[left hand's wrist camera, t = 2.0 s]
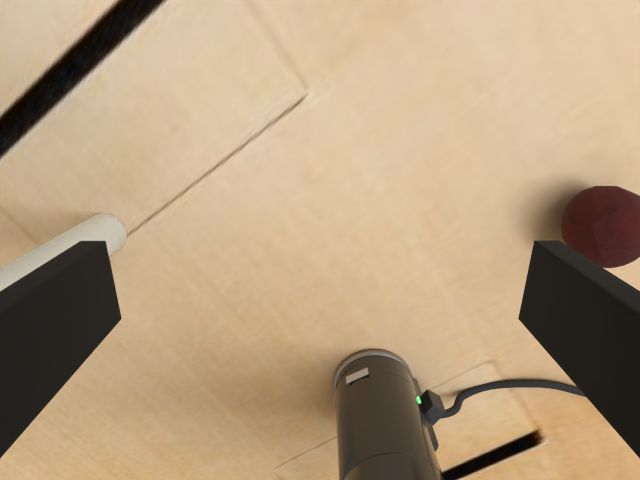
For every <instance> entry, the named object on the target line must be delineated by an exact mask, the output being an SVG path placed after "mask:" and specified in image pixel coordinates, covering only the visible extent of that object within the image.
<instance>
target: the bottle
mask: <svg viewBox="0 0 640 480" xmlns="http://www.w3.org/2000/svg"><path fill="white" fill-rule="evenodd" d="M126 239H127V232H126V229H125V226H124V225H123V223H122V222H121V221H120V220H119V219H118V218H116V217H114V216H112V215H109V214H97V215H95V216H93V217H91V218H89V219H87V220H86V221H84V222H82V223H80V224H78V225H77V226H75V227H73V228H71V229H69V230H68V231H66V232H64V233H62V234H60V235H59V236H57V237H55V238H53V239H51V240H50V241H48V242H46V243H44V244H42V245H41V246H39V247H37V248H35V249H33V250H32V251H30V252H28V253H26V254H24V255H23V256H21V257H19V258H17V259H15V260H14V261H12V262H10V263H8V264H6V265H4V266H3V267H1V268H0V291H1V290H3V289H5V288H6V287H8V286H9V285H11V284H13V283H14V282H16V281H17V280H19V279H21V278H22V277H24V276H25V275H27V274H28V273H30V272H32V271H33V270H35V269H36V268H38V267H40V266H41V265H43V264H44V263H46V262H48V261H49V260H51V259H52V258H54V257H56V256H57V255H59V254H60V253H62V252H64V251H65V250H67V249H68V248H70V247H71V246H73V245H75V244H76V243H78V242H79V241H106V245H107V250H108V255H109V257H110V256H111V255H112V254H114V253H115V252H116V251H117V250H119V249H120V248H121V247H122V246H123V245H124V244H125V242H126Z"/></svg>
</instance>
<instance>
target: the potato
mask: <svg viewBox="0 0 640 480" xmlns="http://www.w3.org/2000/svg"><path fill="white" fill-rule="evenodd" d="M562 235H563V239H564V241H565V243H566V244H567V246H569V247H570V248H572V249H573V250H575V251H576V252H578V253H580V254H581V255H583V256H584V257H586V258H588V259H589V260H591V261H592V262H594V263H596V264H597V265H599V266H600V267H602V268H615V267H619V266H623V265H626V264H628V263H631V262H633V261H635V260H636V259H637V258H639V257H640V196H639V195H637V194H635V193H632V192H630V191H627V190H625V189H622V188H620V187H617V186H595V187H592V188H589V189H586V190H583V191H582V192H580V193H579V194H578V195H576V196H575V197H574V198H573V199H572V200H571V201H570V203H569V205H568V206H567V208H566V211H565V214H564V218H563V221H562Z"/></svg>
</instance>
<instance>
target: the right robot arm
mask: <svg viewBox="0 0 640 480" xmlns="http://www.w3.org/2000/svg"><path fill="white" fill-rule="evenodd" d="M512 387H542V388H552V389H558V390H562V391H566V392H570V393H573V394H577V395H581V396H585V395H584V393H583V392H582V391H581V390H580V389H579V388H578V387H574V386H570V385H567V384H562V383H558V382H552V381H544V380H505V381H496V382H491V383H486V384H482V385H478V386H475V387H472V388H469V389H466V390H465V391H463V392H461V393H459V394H458V395H457V397H456V399H455V402H454V405H453V406H452V407H451V408H449V409H446V410H445V409H444V406H443V403H442V401H441V398H440V396H439V395H437V394H435V393H433V392H432V391H430V390H428V389H427V390H426V391H425V392H424V393H423V394H422V393H421V390H420V387H419V384H418V381H417V380H415V379H413V378H412V375H411V372H410V369H409V367H408V365H407V364H406V363H405V361H403V360H402V359H401V358H400V357H399V356H397V355H395V354H393V353H391V352H388V351H384V350H375V349H374V350H365V351H361V352H358V353H355V354H353V355H351V356H350V357H348V358H347V359H346V360H344V361H343V362H342V363H341V365H340V366H339V367H338V369H337V371H336V373H335V377H334V392H335V400H336V422H337V441H338V460H339V479H340V480H444V479H443V475H442V472H441V469H440V466H439V463H438V460H437V457H436V453H435V451H436V450H437V449H438V441H437V438H436V435H435V432H434V429H433V425H434V424H435V423H436V422H437V421H438V420H439V419H441V418H447V417H450V416H453V415H455V414H456V413H458V412H459V410H460V408H461V405H462V402H463V400H464V399H466V398H468V397H470V396H472V395H474V394H476V393H479V392H483V391H486V390H491V389H498V388H512ZM585 397H586V396H585Z"/></svg>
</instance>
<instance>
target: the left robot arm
mask: <svg viewBox="0 0 640 480" xmlns="http://www.w3.org/2000/svg"><path fill="white" fill-rule="evenodd" d="M120 320H121V314H120V309H119V304H118V299H117V294H116V289H115V284H114V279H113V274H112V269H111V265H110V260H109V255H108V250H107V245H106V241H79V242H78V243H76V244H75V245H73V246H71V247H70V248H68V249H67V250H65V251H64V252H62V253H60V254H59V255H57V256H56V257H54V258H52V259H51V260H49V261H48V262H46V263H44V264H43V265H41V266H40V267H38V268H36V269H35V270H33V271H32V272H30V273H28V274H27V275H25V276H24V277H22V278H21V279H19V280H17V281H16V282H14V283H13V284H11V285H9V286H8V287H6V288H5V289H3V290H1V291H0V458H1V457H2V456H3V454H4V453H5V452H6V451H7V450H8V449H9V448H10V446H11V445H12V444H13V443H14V442H15V441H16V440H17V438H18V437H19V436H20V435H21V434H22V433H23V431H24V430H25V429H26V428H27V427H28V426H29V425H30V423H31V422H32V421H33V420H34V419H35V418H36V416H37V415H38V414H39V413H40V412H41V411H42V410H43V408H44V407H45V406H46V405H47V404H48V403H49V402H50V400H51V399H52V398H53V397H54V396H55V395H56V393H57V392H58V391H59V390H60V389H61V388H62V387H63V385H64V384H65V383H66V382H67V381H68V380H69V379H70V377H71V376H72V375H73V374H74V373H75V372H76V370H77V369H78V368H79V367H80V366H81V365H82V364H83V362H84V361H85V360H86V359H87V358H88V357H89V356H90V354H91V353H92V352H93V351H94V350H95V349H96V347H97V346H98V345H99V344H100V343H101V342H102V341H103V339H104V338H105V337H106V336H107V335H108V334H109V333H110V331H111V330H112V329H113V328H114V327H115V326H116V324H117V323H118V322H119V321H120ZM519 320H520V321H521V322H522V323H523V324H524V326H525V327H526V328H527V329H528V330H529V331H530V333H531V334H532V335H533V336H534V337H535V338H536V339H537V341H538V342H539V343H540V344H541V345H542V346H543V347H544V349H545V350H546V351H547V352H548V353H549V354H550V356H551V357H552V358H553V359H554V360H555V361H556V362H557V364H558V365H559V366H560V367H561V368H562V369H563V370H564V372H565V373H566V374H567V375H568V376H569V377H570V379H571V380H572V381H573V382H574V383H575V384H576V385H577V387H578V388H579V389H580V390H581V391H582V392H583V393H584V395H585V396H586V397H587V398H588V399H589V400H590V402H591V403H592V404H593V405H594V406H595V407H596V408H597V410H598V411H599V412H600V413H601V414H602V415H603V416H604V418H605V419H606V420H607V421H608V422H609V423H610V425H611V426H612V427H613V428H614V429H615V430H616V431H617V433H618V434H619V435H620V436H621V437H622V438H623V440H624V441H625V442H626V443H627V444H628V445H629V446H630V448H631V449H632V450H633V451H634V452H635V453H636V454H637V456H638V457H639V458H640V291H639V290H637V289H635V288H634V287H632V286H631V285H629V284H627V283H626V282H624V281H623V280H621V279H619V278H618V277H616V276H615V275H613V274H612V273H610V272H608V271H607V270H605V269H604V268H602V267H600V266H599V265H597V264H596V263H594V262H592V261H591V260H589V259H588V258H586V257H584V256H583V255H581V254H580V253H578V252H576V251H575V250H573V249H572V248H570V247H569V246H567V245H565V244H564V243H562V242H561V241H534V245H533V250H532V255H531V260H530V264H529V269H528V274H527V279H526V284H525V289H524V294H523V299H522V304H521V309H520V314H519Z"/></svg>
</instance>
